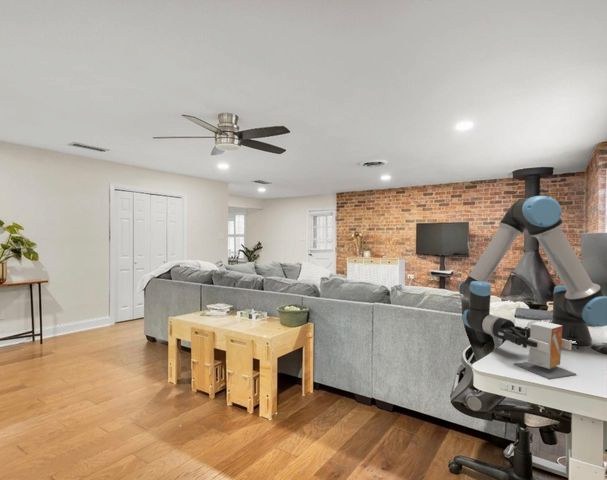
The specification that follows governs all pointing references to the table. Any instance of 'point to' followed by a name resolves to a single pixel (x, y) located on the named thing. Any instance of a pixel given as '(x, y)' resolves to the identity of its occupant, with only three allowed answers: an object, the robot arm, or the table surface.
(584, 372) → the table surface
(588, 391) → the table surface
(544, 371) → the slate mat
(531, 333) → the small box
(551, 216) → the robot arm
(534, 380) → the table surface
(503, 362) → the table surface
